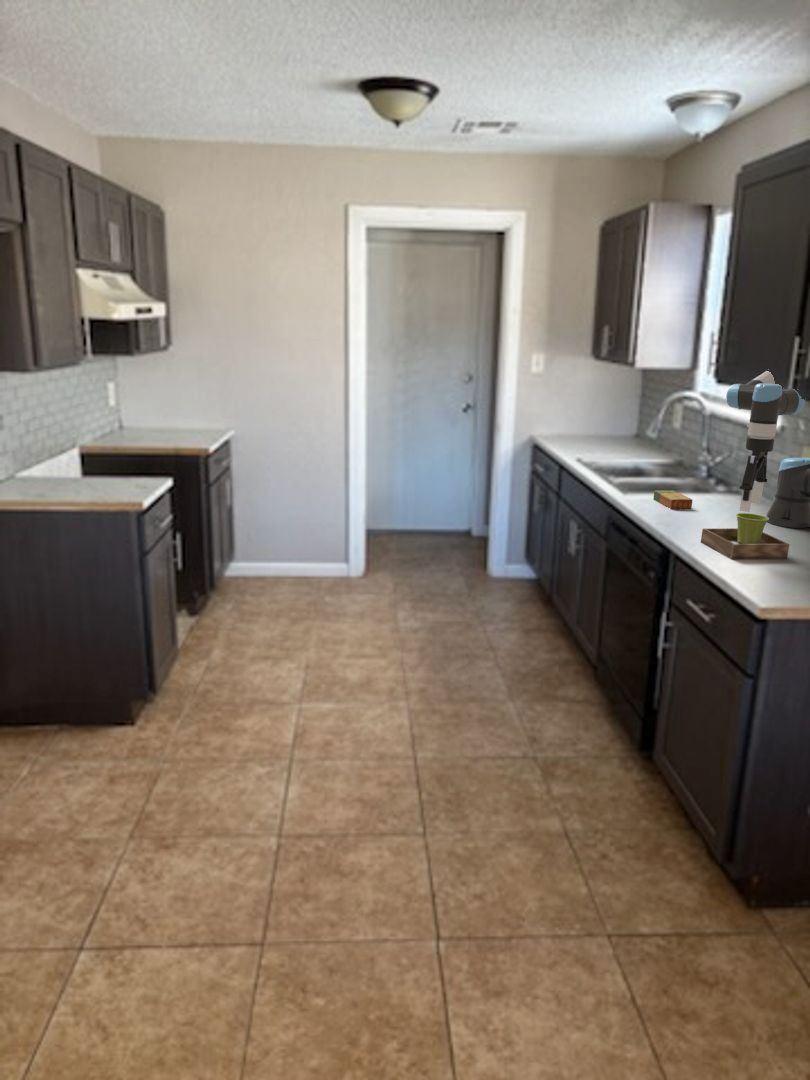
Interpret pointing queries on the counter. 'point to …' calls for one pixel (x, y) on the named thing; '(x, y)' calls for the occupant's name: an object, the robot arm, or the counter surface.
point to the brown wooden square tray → (743, 545)
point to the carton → (672, 499)
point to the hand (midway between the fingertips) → (750, 507)
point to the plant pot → (750, 527)
